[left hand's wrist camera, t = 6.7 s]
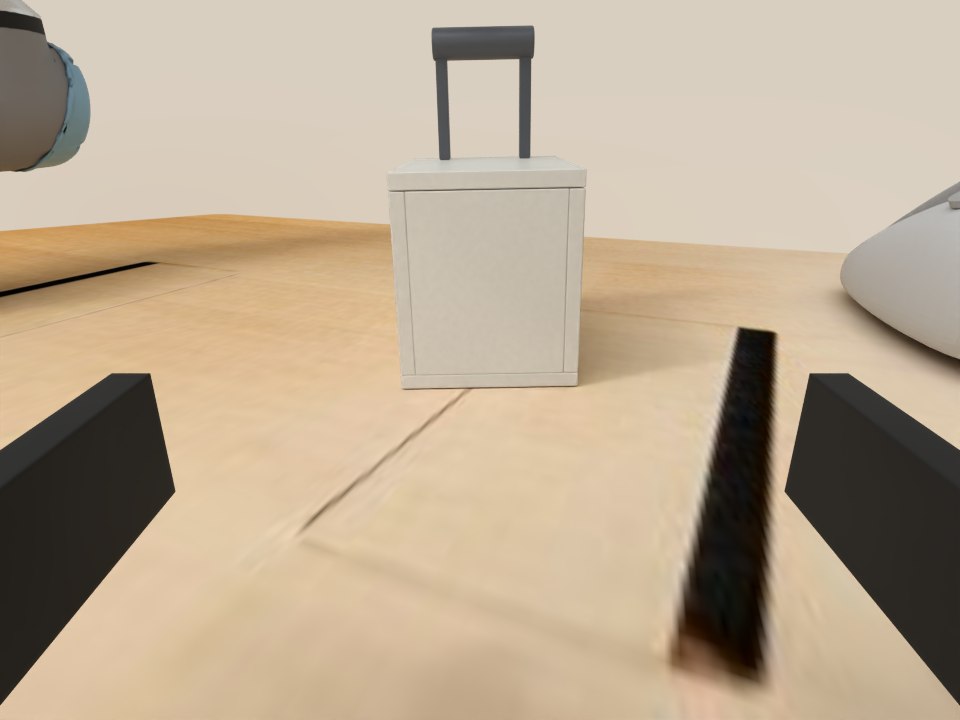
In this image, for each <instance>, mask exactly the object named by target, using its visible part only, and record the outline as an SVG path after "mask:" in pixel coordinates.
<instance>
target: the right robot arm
mask: <svg viewBox="0 0 960 720" xmlns="http://www.w3.org/2000/svg"><path fill="white" fill-rule="evenodd" d="M89 123H90V99H89V93H88V89H87V85H86V82H85V79H84V77H83V75H82V73H81V71H80V69H79V67H77V66H76V65H73V59H72V58H71V57H70V56H69V54H68V53H66V52H65V51H64V50H62V49H61V48H59V47H57V46H55V45H54V44H52V43H49V42H47V40H46V36H45V32H44V28H43V24H42V20H41V17H40V16H39V15H38V14H37V13H36V12H35V11H34V10H32V9H31V8H30V7H29V6H28V5H27V4H25V3H24V2H23V1H22V0H0V172H1V171H15V172H18V171H22V172H27V171H31V170H33V169H35V168H43V167H51V166H56V165H60V164H62V163H65V162H66V161H68V160H69V159H71V158H72V157H73V156H74V155H75V154H76V153H77V152H78V150H79V148H80V144H82V143H83V142H84V141H85V138H86V136H87V132H88V128H89Z"/></svg>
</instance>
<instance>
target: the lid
mask: <svg viewBox="0 0 960 720" xmlns="http://www.w3.org/2000/svg"><path fill="white" fill-rule="evenodd" d="M432 53H433V59H434V60H435V61H436V83H437V107H438V132H439V157H440V158H429V159H413V160H411V161H409V162H407V163H405V164H403V165H401V166H399V167H397V168H395V169H394V170H392V171H390V172H388V173H387V185H388V191H405V190H456V189H508V188H559V187H585V186H586V169H585V168H583V167H580V166H578V165H575V164H573V163H571V162H568V161H566V160H563V159H561V158H558V157H556V156H530V122H531V59H532V58H533V56H534V27H533V26H493V27H447V28H433V29H432ZM496 59H519V157H479V158H450V129H449V101H448V71H447V61H449V60H496Z"/></svg>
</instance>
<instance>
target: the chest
mask: <svg viewBox="0 0 960 720" xmlns="http://www.w3.org/2000/svg"><path fill="white" fill-rule="evenodd" d="M585 192H586V190H585V188H583V187H559V188H508V189H456V190H405V191H390V192H388V199H389V213H390V228H391V242H392V256H393V270H394V284H395V298H396V313H397V327H398V341H399V355H400V369H401V383H402V389H415V388H473V387H531V386H577V384H578V360H579V336H580V312H581V289H582V265H583V241H584V217H585Z"/></svg>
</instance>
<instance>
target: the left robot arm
mask: <svg viewBox="0 0 960 720" xmlns="http://www.w3.org/2000/svg"><path fill="white" fill-rule="evenodd" d="M174 493H175V487H174V482H173V478H172V473H171V468H170V464H169V459H168V454H167V450H166V445H165V440H164V436H163V431H162V426H161V422H160V417H159V412H158V408H157V403H156V398H155V394H154V389H153V384H152V380H151V375H150V373H112V374H110V375H109V376H107V377H106V378H104V379H103V380H102V381H100V382H99V383H97V384H96V385H94V386H93V387H91V388H90V389H88V390H87V391H86V392H84V393H83V394H81V395H80V396H78V397H77V398H75V399H74V400H72V401H71V402H70V403H68V404H67V405H65V406H64V407H62V408H61V409H59V410H58V411H57V412H55V413H54V414H52V415H51V416H49V417H48V418H46V419H45V420H43V421H42V422H41V423H39V424H38V425H36V426H35V427H33V428H32V429H30V430H29V431H27V432H26V433H25V434H23V435H22V436H20V437H19V438H17V439H16V440H14V441H13V442H11V443H10V444H9V445H7V446H6V447H4V448H3V449H1V450H0V705H1V704H2V703H3V701H4V700H5V699H6V698H7V697H8V695H9V694H10V693H11V692H12V690H13V689H14V688H15V687H16V686H17V684H18V683H19V682H20V681H21V679H22V678H23V677H24V676H25V675H26V673H27V672H28V671H29V670H30V668H31V667H32V666H33V665H34V664H35V662H36V661H37V660H38V659H39V657H40V656H41V655H42V654H43V653H44V651H45V650H46V649H47V648H48V646H49V645H50V644H51V643H52V642H53V640H54V639H55V638H56V637H57V635H58V634H59V633H60V632H61V631H62V629H63V628H64V627H65V626H66V625H67V623H68V622H69V621H70V620H71V618H72V617H73V616H74V615H75V614H76V612H77V611H78V610H79V609H80V607H81V606H82V605H83V604H84V603H85V601H86V600H87V599H88V598H89V596H90V595H91V594H92V593H93V592H94V590H95V589H96V588H97V587H98V585H99V584H100V583H101V582H102V581H103V579H104V578H105V577H106V576H107V574H108V573H109V572H110V571H111V570H112V568H113V567H114V566H115V565H116V563H117V562H118V561H119V560H120V559H121V557H122V556H123V555H124V554H125V553H126V551H127V550H128V549H129V548H130V546H131V545H132V544H133V543H134V542H135V540H136V539H137V538H138V537H139V535H140V534H141V533H142V532H143V531H144V529H145V528H146V527H147V526H148V524H149V523H150V522H151V521H152V520H153V518H154V517H155V516H156V515H157V513H158V512H159V511H160V510H161V509H162V507H163V506H164V505H165V504H166V502H167V501H168V500H169V499H170V498H171V496H172V495H173V494H174ZM785 493H786V494H787V495H788V496H789V498H790V499H791V500H792V501H793V502H794V504H795V505H796V506H797V507H798V509H799V510H800V511H801V512H802V513H803V515H804V516H805V517H806V518H807V520H808V521H809V522H810V523H811V524H812V526H813V527H814V528H815V529H816V531H817V532H818V533H819V534H820V535H821V537H822V538H823V539H824V540H825V542H826V543H827V544H828V545H829V546H830V548H831V549H832V550H833V551H834V553H835V554H836V555H837V556H838V557H839V559H840V560H841V561H842V562H843V563H844V565H845V566H846V567H847V568H848V570H849V571H850V572H851V573H852V574H853V576H854V577H855V578H856V579H857V581H858V582H859V583H860V584H861V585H862V587H863V588H864V589H865V590H866V592H867V593H868V594H869V595H870V596H871V598H872V599H873V600H874V601H875V603H876V604H877V605H878V606H879V607H880V609H881V610H882V611H883V612H884V614H885V615H886V616H887V617H888V618H889V620H890V621H891V622H892V623H893V625H894V626H895V627H896V628H897V629H898V631H899V632H900V633H901V634H902V635H903V637H904V638H905V639H906V640H907V642H908V643H909V644H910V645H911V646H912V648H913V649H914V650H915V651H916V653H917V654H918V655H919V656H920V657H921V659H922V660H923V661H924V662H925V664H926V665H927V666H928V667H929V668H930V670H931V671H932V672H933V673H934V675H935V676H936V677H937V678H938V679H939V681H940V682H941V683H942V684H943V686H944V687H945V688H946V689H947V690H948V692H949V693H950V694H951V695H952V697H953V698H954V699H955V700H956V701H957V703H958V704H959V705H960V450H959V449H957V448H956V447H954V446H953V445H951V444H950V443H949V442H947V441H946V440H944V439H943V438H941V437H940V436H938V435H937V434H935V433H934V432H933V431H931V430H930V429H928V428H927V427H925V426H924V425H922V424H921V423H919V422H918V421H917V420H915V419H914V418H912V417H911V416H909V415H908V414H906V413H905V412H903V411H902V410H901V409H899V408H898V407H896V406H895V405H893V404H892V403H890V402H889V401H888V400H886V399H885V398H883V397H882V396H880V395H879V394H877V393H876V392H874V391H873V390H872V389H870V388H869V387H867V386H866V385H864V384H863V383H861V382H860V381H858V380H857V379H856V378H854V377H853V376H851V375H850V374H848V373H810V375H809V380H808V384H807V389H806V394H805V398H804V403H803V408H802V412H801V417H800V422H799V426H798V431H797V436H796V440H795V445H794V450H793V454H792V459H791V464H790V468H789V473H788V478H787V482H786V487H785Z"/></svg>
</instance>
